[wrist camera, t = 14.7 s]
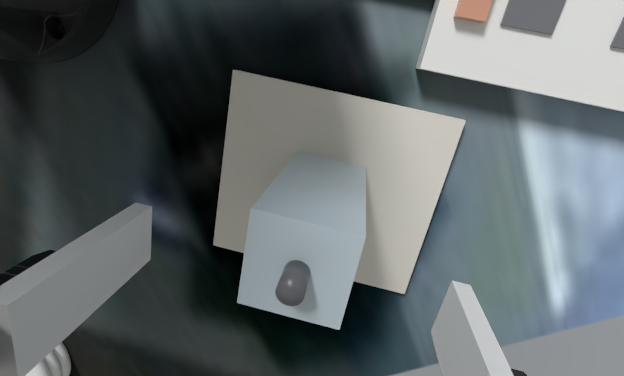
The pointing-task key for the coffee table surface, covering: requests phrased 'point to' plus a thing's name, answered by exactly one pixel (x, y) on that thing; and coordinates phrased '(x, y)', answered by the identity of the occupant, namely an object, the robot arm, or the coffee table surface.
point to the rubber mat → (344, 147)
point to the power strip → (532, 46)
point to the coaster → (53, 363)
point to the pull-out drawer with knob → (306, 240)
